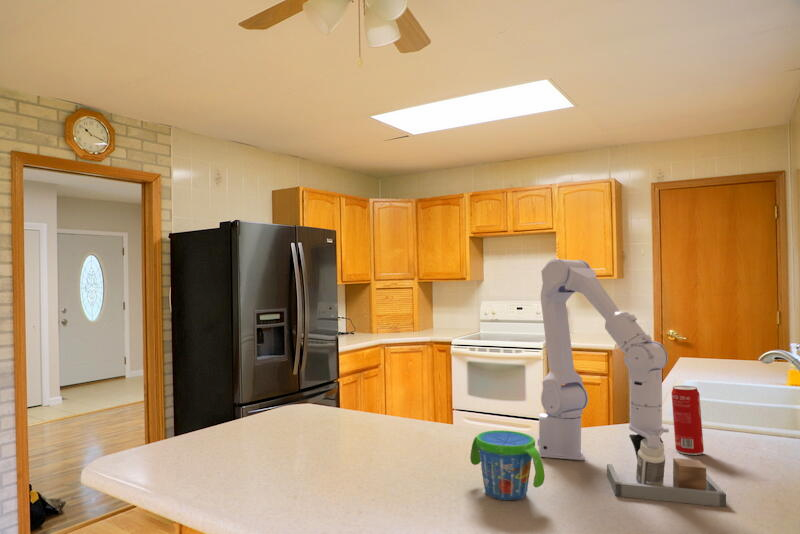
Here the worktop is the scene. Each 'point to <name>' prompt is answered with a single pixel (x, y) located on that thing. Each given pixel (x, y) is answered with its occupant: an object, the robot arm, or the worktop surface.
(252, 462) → the worktop surface
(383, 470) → the worktop surface
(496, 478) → the snack cup
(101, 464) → the worktop surface
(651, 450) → the pill bottle
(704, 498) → the corral
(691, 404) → the beverage can
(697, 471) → the walnut block
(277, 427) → the worktop surface
